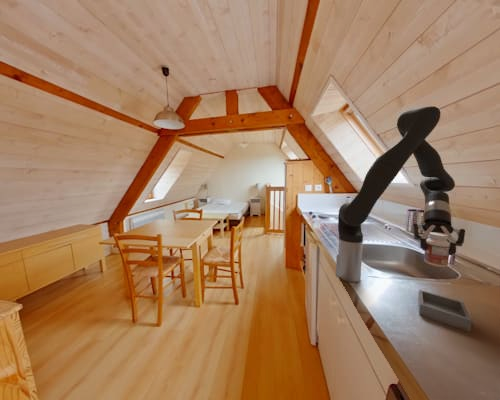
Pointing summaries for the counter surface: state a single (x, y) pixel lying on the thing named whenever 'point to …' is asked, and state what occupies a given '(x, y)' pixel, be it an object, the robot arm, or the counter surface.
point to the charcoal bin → (444, 310)
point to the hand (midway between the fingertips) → (437, 251)
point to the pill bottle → (437, 249)
